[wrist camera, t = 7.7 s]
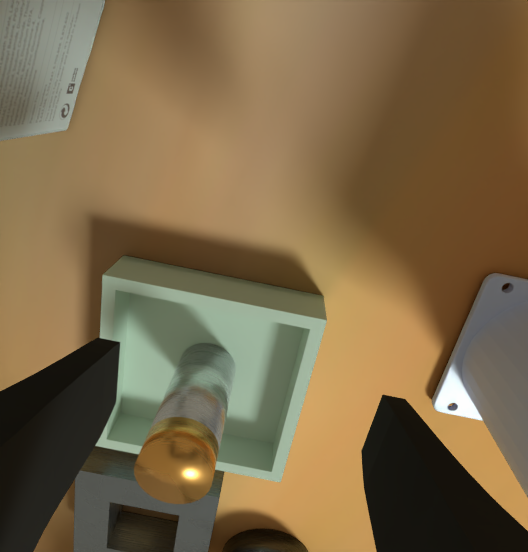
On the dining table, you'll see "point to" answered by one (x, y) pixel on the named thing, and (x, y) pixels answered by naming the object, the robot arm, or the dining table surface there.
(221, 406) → the pin
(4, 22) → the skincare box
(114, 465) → the block
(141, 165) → the dining table surface
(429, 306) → the dining table surface
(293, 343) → the tray
